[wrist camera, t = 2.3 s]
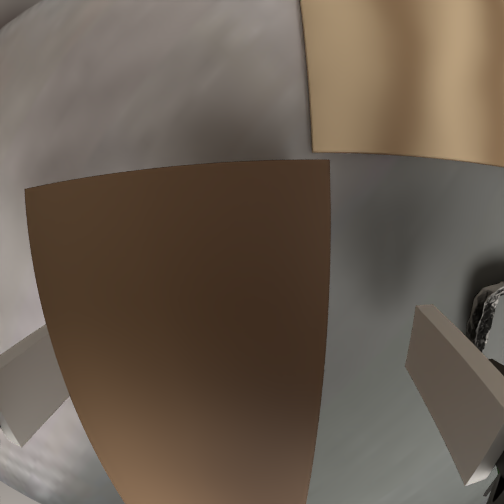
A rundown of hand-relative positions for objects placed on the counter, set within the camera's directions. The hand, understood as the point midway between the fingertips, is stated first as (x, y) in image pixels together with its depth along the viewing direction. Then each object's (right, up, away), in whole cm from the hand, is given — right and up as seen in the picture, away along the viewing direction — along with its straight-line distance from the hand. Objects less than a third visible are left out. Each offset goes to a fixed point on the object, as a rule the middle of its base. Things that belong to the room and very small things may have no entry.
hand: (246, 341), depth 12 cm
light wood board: (+13, +16, -2) cm, 21 cm away
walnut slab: (0, +1, +3) cm, 3 cm away
